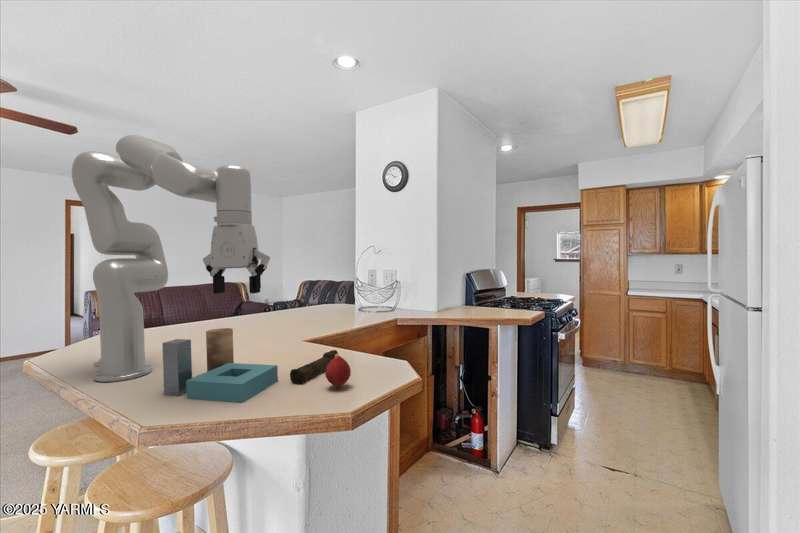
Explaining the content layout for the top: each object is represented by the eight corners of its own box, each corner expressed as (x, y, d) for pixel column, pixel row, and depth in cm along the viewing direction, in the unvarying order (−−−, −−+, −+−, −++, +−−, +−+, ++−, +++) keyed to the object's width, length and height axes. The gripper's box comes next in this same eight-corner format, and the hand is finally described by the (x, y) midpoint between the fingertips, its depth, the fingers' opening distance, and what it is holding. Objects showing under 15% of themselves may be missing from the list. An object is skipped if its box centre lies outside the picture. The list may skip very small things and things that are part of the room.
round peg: (201, 378, 96) (200, 332, 96) (218, 371, 102) (217, 327, 102) (223, 379, 95) (221, 333, 94) (239, 372, 101) (237, 328, 101)
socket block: (186, 398, 82) (186, 380, 82) (229, 378, 96) (228, 362, 95) (242, 402, 79) (241, 383, 79) (277, 381, 93) (277, 365, 92)
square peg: (164, 395, 84) (162, 342, 84) (178, 389, 88) (176, 339, 88) (178, 396, 84) (177, 343, 83) (192, 389, 87) (190, 339, 87)
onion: (341, 381, 91) (340, 349, 91) (355, 387, 87) (355, 353, 87) (321, 388, 87) (320, 354, 87) (335, 394, 83) (334, 358, 83)
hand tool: (302, 386, 89) (301, 367, 89) (289, 384, 91) (288, 365, 91) (346, 365, 106) (346, 349, 106) (334, 364, 108) (334, 348, 108)
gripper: (191, 220, 85) (193, 294, 85) (257, 216, 81) (259, 294, 81) (214, 223, 92) (216, 291, 93) (276, 220, 88) (278, 291, 89)
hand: (236, 292), depth 87 cm, fingers open, 9 cm apart
